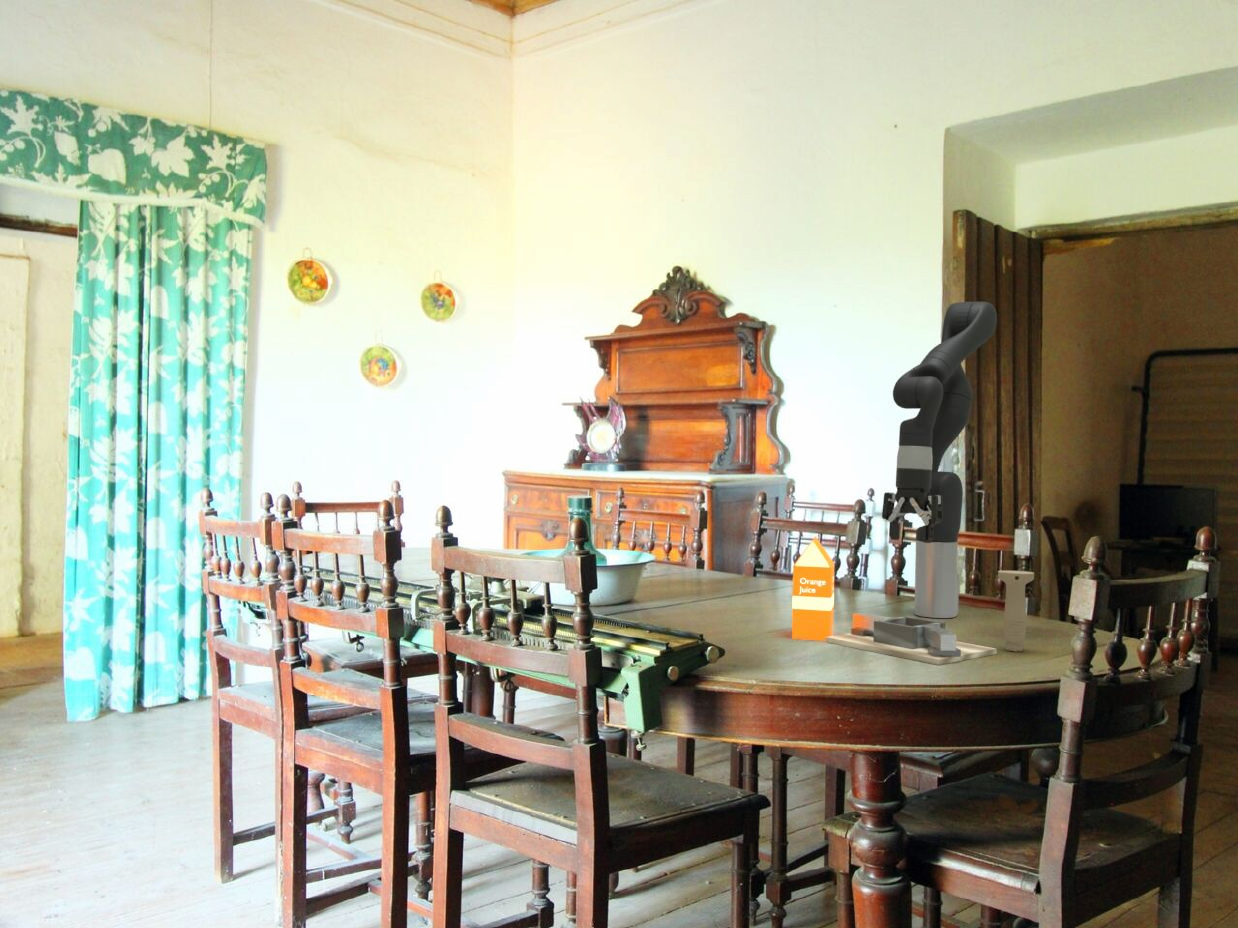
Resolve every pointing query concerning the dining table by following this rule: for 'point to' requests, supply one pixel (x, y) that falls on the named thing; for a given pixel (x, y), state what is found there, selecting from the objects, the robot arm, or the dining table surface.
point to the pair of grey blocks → (932, 635)
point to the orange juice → (813, 594)
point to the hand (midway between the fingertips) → (910, 541)
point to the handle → (1015, 608)
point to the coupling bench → (907, 641)
